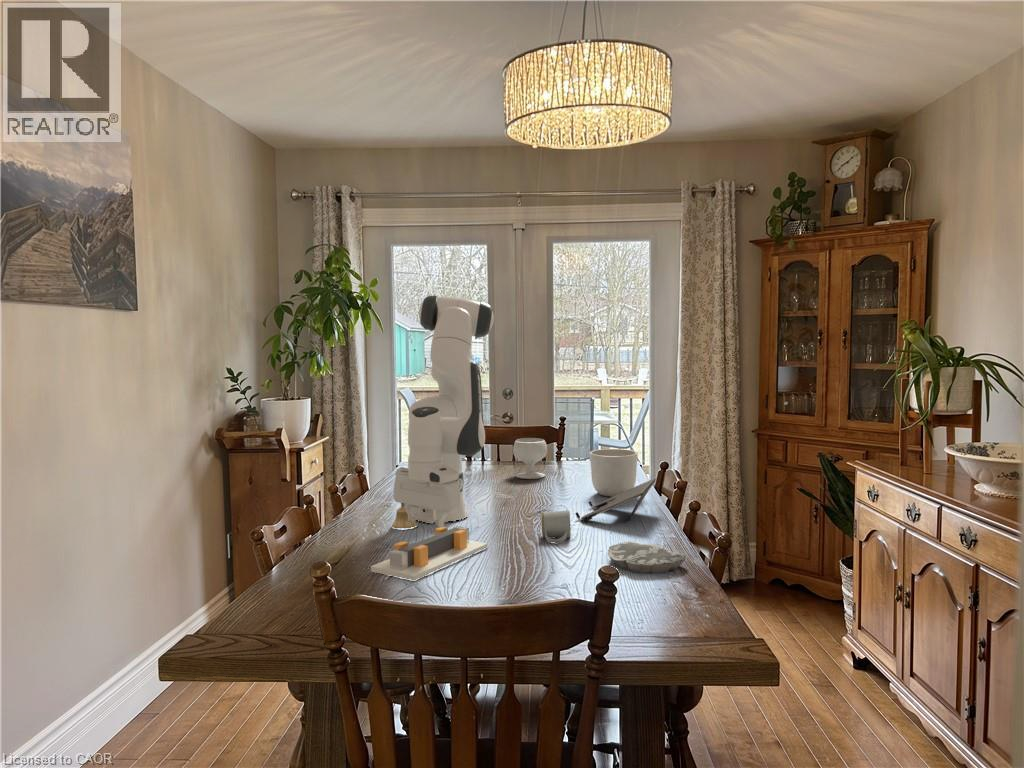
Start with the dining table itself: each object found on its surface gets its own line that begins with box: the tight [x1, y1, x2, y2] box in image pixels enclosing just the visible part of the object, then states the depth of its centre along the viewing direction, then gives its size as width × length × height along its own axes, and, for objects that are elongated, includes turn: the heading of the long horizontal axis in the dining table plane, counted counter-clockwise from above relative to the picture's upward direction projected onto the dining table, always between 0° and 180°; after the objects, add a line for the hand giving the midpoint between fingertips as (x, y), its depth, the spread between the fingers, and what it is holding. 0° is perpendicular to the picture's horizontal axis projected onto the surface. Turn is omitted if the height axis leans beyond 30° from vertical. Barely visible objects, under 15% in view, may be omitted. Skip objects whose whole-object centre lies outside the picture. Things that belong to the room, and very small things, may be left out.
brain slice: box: [607, 541, 686, 574], centre depth 178 cm, size 20×17×3 cm
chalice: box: [512, 437, 548, 480], centre depth 289 cm, size 14×14×15 cm
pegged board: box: [370, 526, 488, 580], centre depth 184 cm, size 14×30×6 cm, turn 147°
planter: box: [589, 448, 639, 498], centre depth 255 cm, size 17×17×15 cm
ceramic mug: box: [540, 510, 572, 544], centre depth 201 cm, size 11×8×8 cm
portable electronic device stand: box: [574, 478, 656, 522], centre depth 224 cm, size 23×23×9 cm
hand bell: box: [391, 503, 419, 528], centre depth 216 cm, size 8×8×16 cm
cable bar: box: [389, 525, 470, 571], centre depth 184 cm, size 4×27×4 cm, turn 147°
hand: (425, 523), depth 184 cm, fingers open, 8 cm apart
